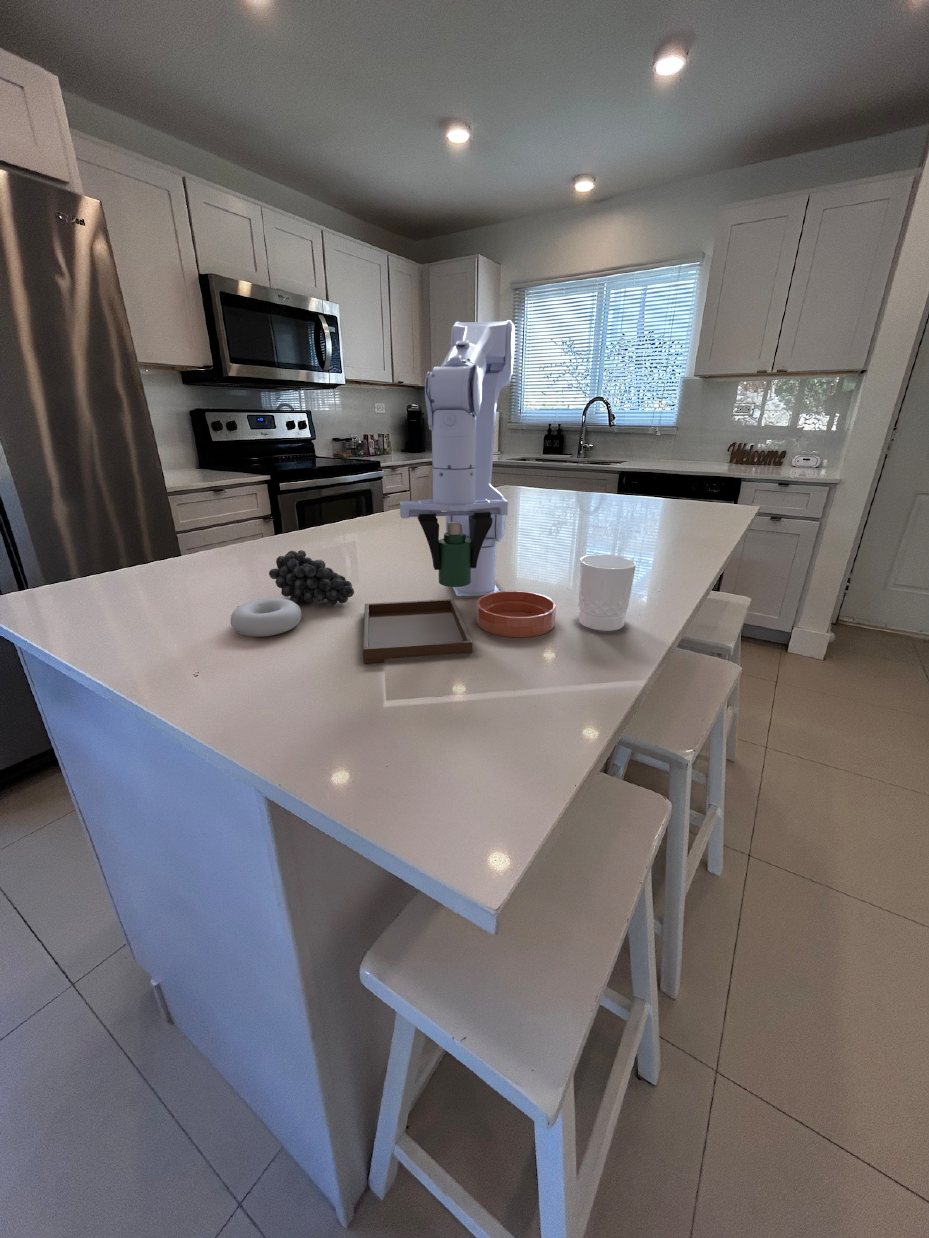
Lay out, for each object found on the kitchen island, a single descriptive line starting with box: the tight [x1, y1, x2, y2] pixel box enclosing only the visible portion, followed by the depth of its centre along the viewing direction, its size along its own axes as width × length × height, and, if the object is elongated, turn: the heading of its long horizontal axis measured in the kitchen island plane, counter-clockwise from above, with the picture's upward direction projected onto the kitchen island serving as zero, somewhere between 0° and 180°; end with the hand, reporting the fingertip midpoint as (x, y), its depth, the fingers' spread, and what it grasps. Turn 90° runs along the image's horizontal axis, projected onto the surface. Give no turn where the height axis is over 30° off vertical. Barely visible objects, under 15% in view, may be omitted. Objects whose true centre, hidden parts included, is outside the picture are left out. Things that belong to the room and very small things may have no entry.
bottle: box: [438, 522, 471, 588], centre depth 71 cm, size 5×5×8 cm
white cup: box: [578, 554, 637, 632], centre depth 76 cm, size 8×8×10 cm
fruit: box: [268, 550, 355, 606], centre depth 85 cm, size 9×8×15 cm
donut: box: [230, 597, 302, 638], centre depth 76 cm, size 10×4×10 cm
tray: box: [362, 598, 474, 664], centre depth 74 cm, size 17×14×2 cm
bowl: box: [475, 590, 557, 638], centre depth 77 cm, size 12×12×4 cm
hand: (454, 567), depth 72 cm, fingers closed on bottle, 4 cm apart
